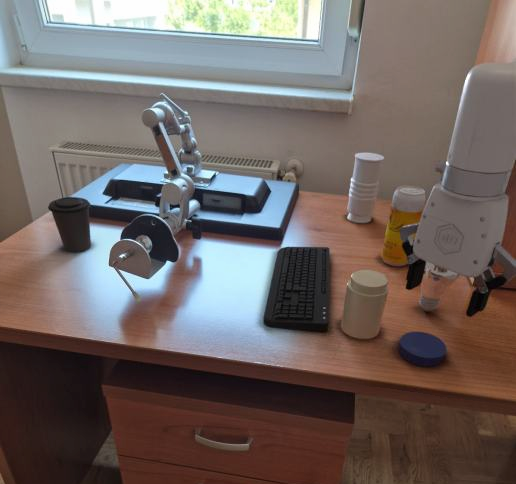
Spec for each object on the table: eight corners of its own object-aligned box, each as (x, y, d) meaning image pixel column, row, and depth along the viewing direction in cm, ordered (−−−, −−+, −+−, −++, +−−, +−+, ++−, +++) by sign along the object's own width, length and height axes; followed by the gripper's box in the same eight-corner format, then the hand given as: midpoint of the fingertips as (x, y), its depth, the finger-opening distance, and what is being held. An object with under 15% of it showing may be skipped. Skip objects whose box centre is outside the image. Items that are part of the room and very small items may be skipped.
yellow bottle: (376, 254, 103) (390, 184, 94) (403, 254, 103) (419, 184, 94) (385, 267, 98) (401, 195, 89) (414, 267, 98) (432, 195, 90)
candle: (375, 216, 121) (386, 154, 112) (370, 225, 116) (381, 161, 107) (348, 211, 123) (357, 151, 114) (342, 220, 118) (351, 157, 109)
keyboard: (278, 250, 103) (278, 241, 101) (328, 255, 102) (329, 246, 100) (261, 326, 79) (262, 316, 78) (327, 332, 78) (329, 322, 77)
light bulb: (414, 296, 89) (430, 235, 81) (451, 308, 85) (471, 246, 78) (400, 312, 84) (416, 249, 77) (439, 325, 81) (459, 261, 74)
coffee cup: (49, 246, 100) (38, 199, 94) (83, 235, 105) (75, 190, 99) (71, 258, 96) (60, 210, 90) (105, 246, 101) (97, 200, 95)
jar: (387, 329, 79) (398, 279, 74) (363, 343, 76) (374, 292, 70) (356, 313, 83) (365, 264, 77) (332, 326, 79) (340, 276, 74)
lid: (388, 350, 74) (390, 342, 73) (414, 334, 78) (416, 326, 77) (427, 373, 70) (430, 364, 69) (452, 355, 74) (455, 346, 73)
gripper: (397, 169, 62) (377, 285, 72) (532, 206, 51) (486, 335, 62) (429, 159, 66) (406, 270, 76) (560, 190, 55) (512, 314, 66)
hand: (442, 299), depth 69 cm, fingers open, 9 cm apart
